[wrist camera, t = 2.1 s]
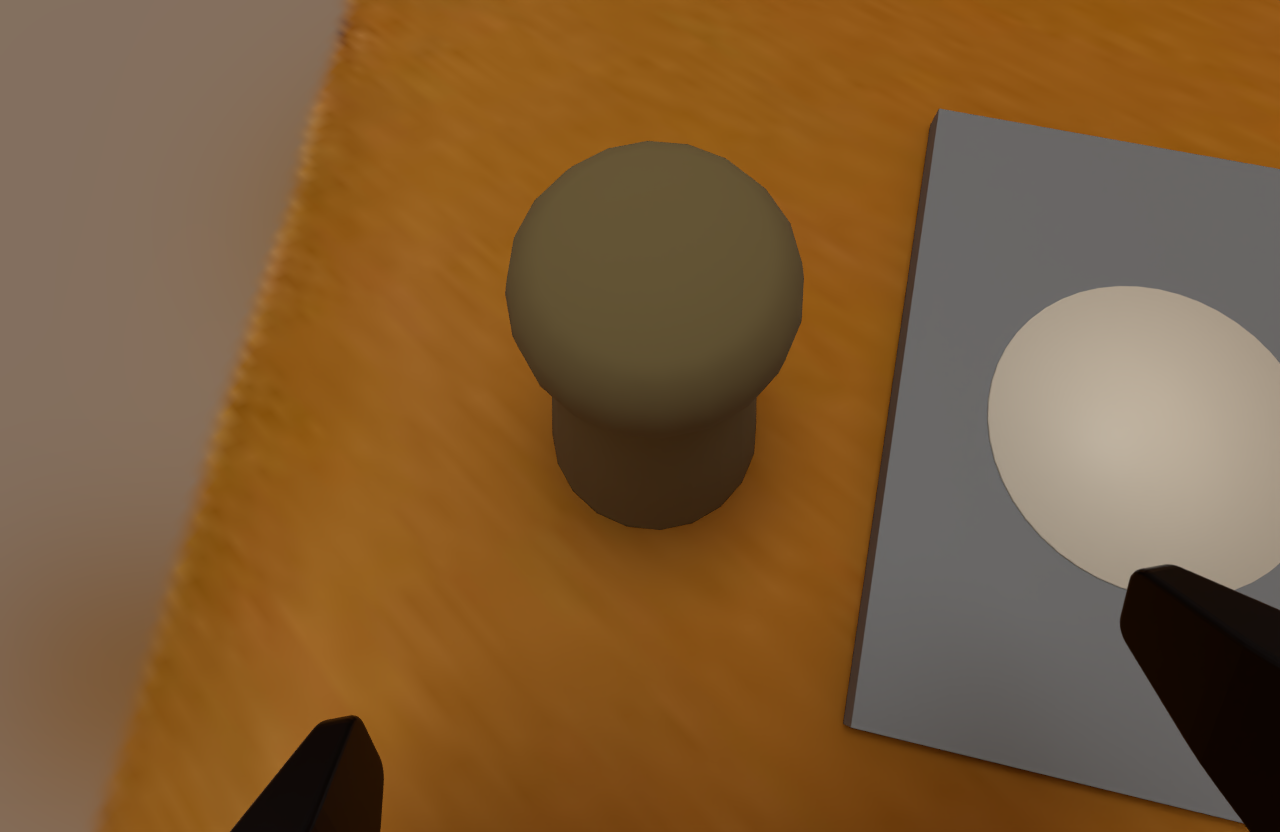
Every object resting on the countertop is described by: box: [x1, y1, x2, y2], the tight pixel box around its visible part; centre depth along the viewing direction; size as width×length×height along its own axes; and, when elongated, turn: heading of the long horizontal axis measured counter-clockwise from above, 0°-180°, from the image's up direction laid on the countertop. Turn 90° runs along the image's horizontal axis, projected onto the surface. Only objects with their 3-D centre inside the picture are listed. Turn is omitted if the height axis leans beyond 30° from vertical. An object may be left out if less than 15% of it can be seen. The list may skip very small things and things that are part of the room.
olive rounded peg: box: [505, 141, 804, 530], centre depth 17 cm, size 6×6×11 cm
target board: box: [843, 109, 1280, 823], centre depth 21 cm, size 19×14×1 cm
